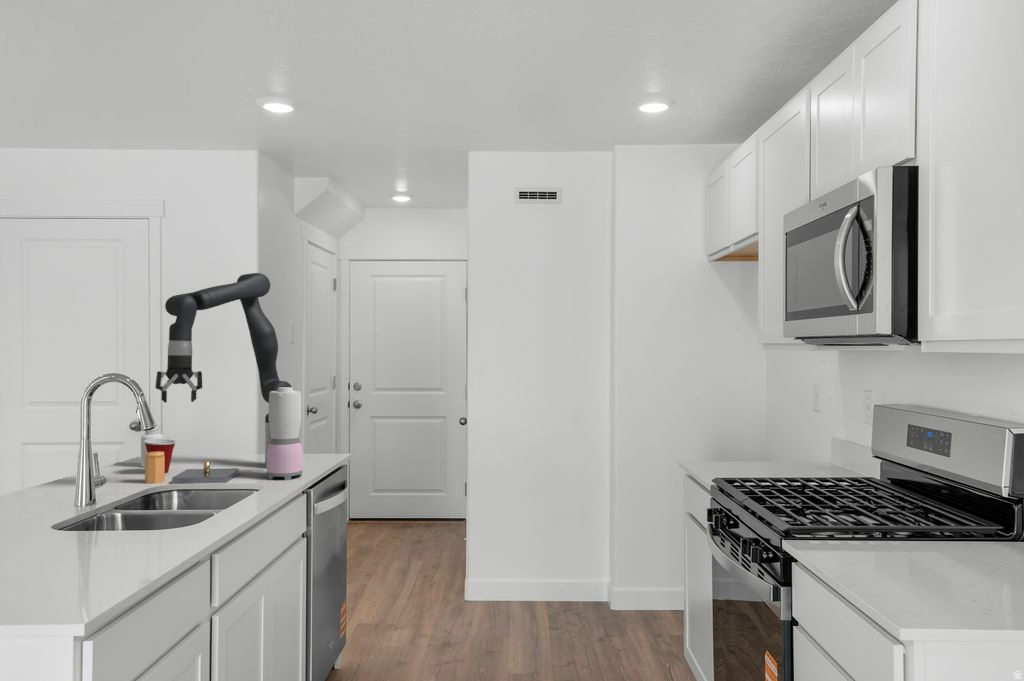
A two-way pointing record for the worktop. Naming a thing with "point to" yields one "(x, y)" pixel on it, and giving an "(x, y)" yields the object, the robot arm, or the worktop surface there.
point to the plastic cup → (161, 449)
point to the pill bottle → (149, 435)
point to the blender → (284, 434)
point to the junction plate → (205, 475)
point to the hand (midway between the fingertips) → (178, 401)
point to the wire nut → (154, 467)
